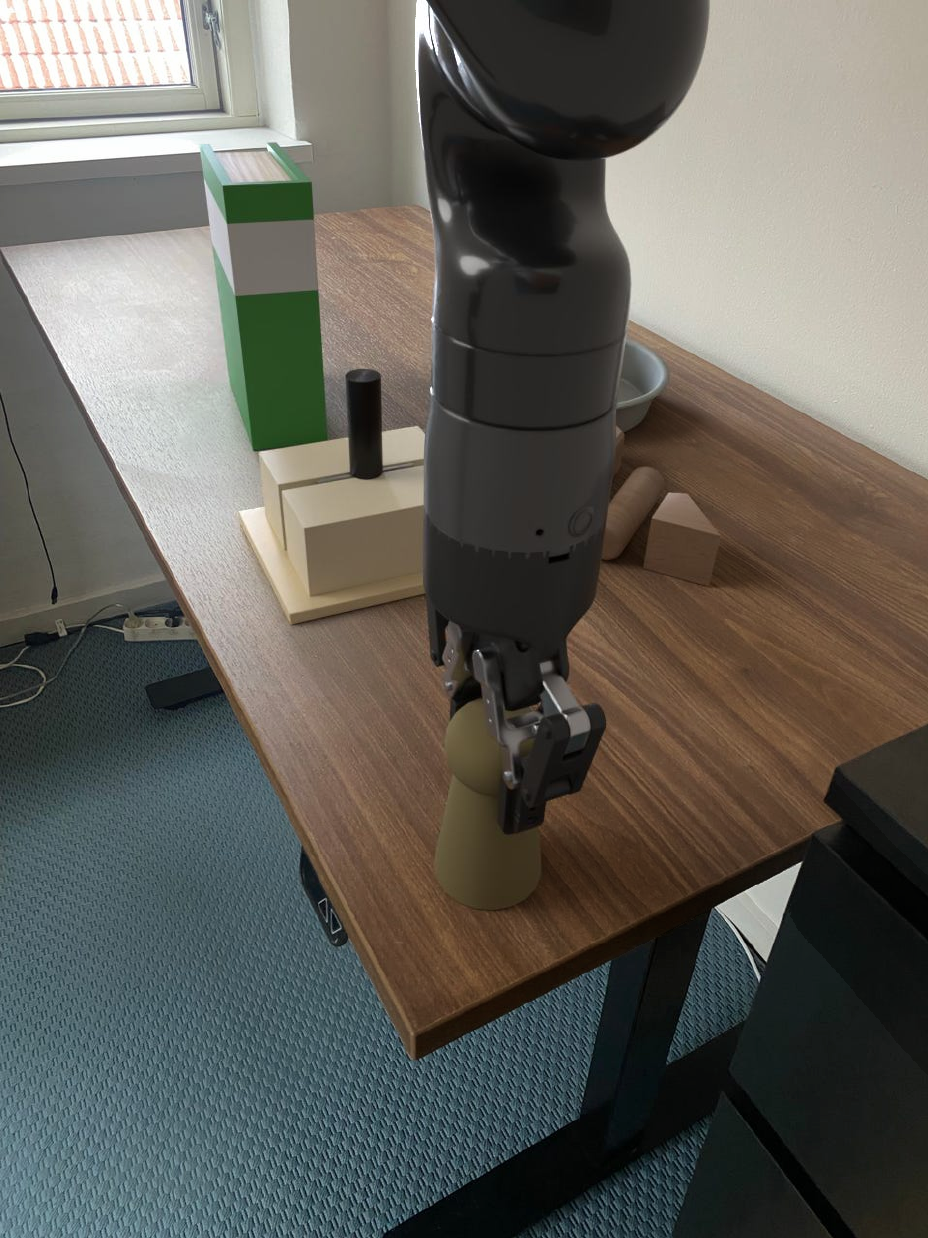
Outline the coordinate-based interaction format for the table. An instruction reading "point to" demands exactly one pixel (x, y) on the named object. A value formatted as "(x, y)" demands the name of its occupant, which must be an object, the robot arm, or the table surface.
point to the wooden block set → (660, 526)
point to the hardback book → (268, 292)
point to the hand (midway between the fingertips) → (494, 784)
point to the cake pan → (639, 384)
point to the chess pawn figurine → (482, 821)
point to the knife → (364, 427)
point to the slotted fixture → (339, 527)
